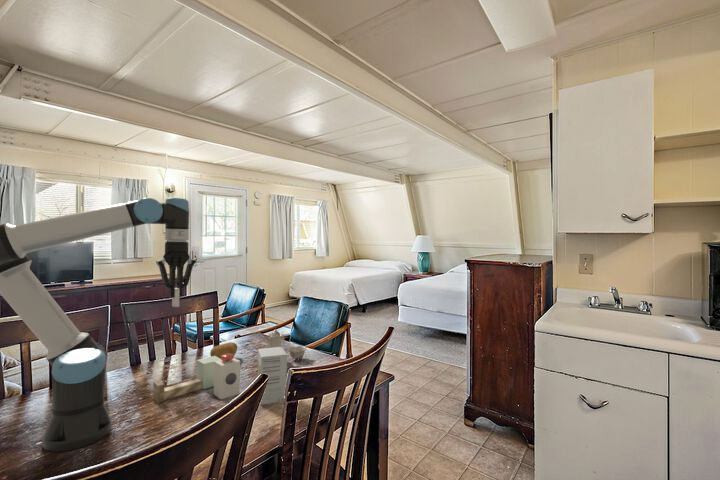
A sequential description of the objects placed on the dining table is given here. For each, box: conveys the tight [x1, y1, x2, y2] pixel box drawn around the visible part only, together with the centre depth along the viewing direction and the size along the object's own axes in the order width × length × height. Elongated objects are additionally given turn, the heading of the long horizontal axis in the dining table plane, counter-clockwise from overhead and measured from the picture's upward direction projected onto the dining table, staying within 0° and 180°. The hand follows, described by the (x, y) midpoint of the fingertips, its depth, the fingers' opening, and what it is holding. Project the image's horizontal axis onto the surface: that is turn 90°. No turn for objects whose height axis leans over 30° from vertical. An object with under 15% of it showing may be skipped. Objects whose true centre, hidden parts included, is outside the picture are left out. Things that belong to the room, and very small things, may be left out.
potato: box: [209, 341, 238, 359], centre depth 159 cm, size 10×14×8 cm
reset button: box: [221, 353, 235, 363], centre depth 126 cm, size 4×4×4 cm
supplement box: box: [257, 346, 288, 406], centre depth 124 cm, size 10×9×17 cm
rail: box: [152, 378, 203, 404], centre depth 129 cm, size 26×5×6 cm, turn 137°
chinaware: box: [266, 328, 307, 360], centre depth 155 cm, size 28×17×17 cm, turn 166°
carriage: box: [196, 356, 221, 390], centre depth 133 cm, size 7×6×10 cm
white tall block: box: [213, 357, 241, 400], centre depth 126 cm, size 7×6×12 cm
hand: (175, 306), depth 124 cm, fingers closed
